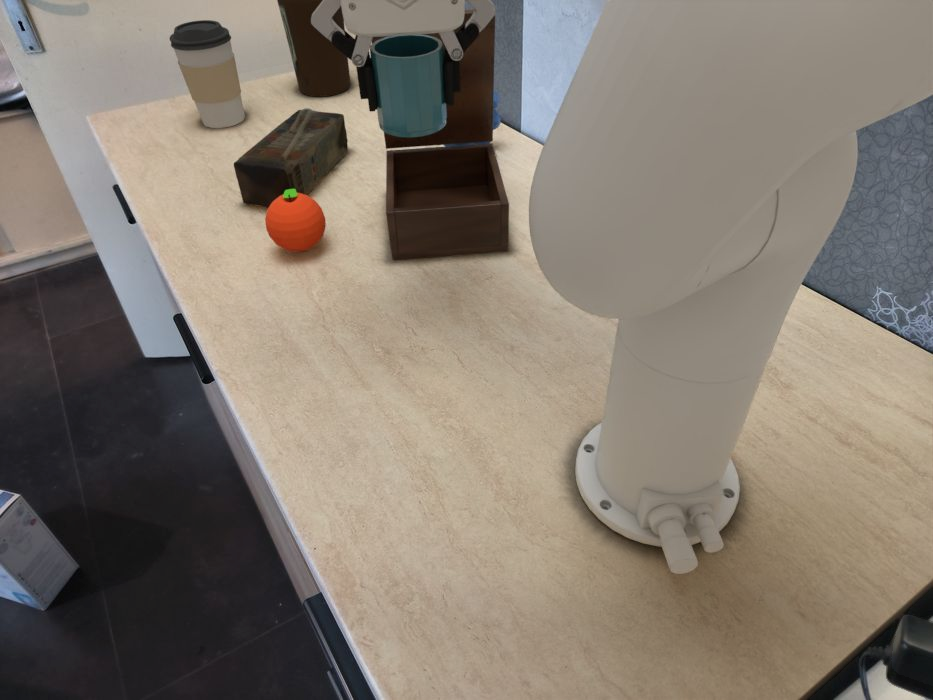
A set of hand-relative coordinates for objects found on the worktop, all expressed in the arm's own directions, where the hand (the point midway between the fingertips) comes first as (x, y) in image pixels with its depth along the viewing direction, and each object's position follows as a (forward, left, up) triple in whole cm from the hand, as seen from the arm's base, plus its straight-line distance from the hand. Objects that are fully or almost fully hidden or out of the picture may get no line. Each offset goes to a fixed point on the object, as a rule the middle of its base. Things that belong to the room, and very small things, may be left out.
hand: (411, 101), depth 61 cm
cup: (0, 0, -2) cm, 2 cm away
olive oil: (+62, +16, -20) cm, 67 cm away
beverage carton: (+27, +17, -20) cm, 38 cm away
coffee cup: (+50, +32, -20) cm, 63 cm away
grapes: (+30, -8, -20) cm, 37 cm away
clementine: (+9, +15, -20) cm, 27 cm away
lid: (+18, -3, -5) cm, 19 cm away
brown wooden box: (+12, -3, -20) cm, 23 cm away
